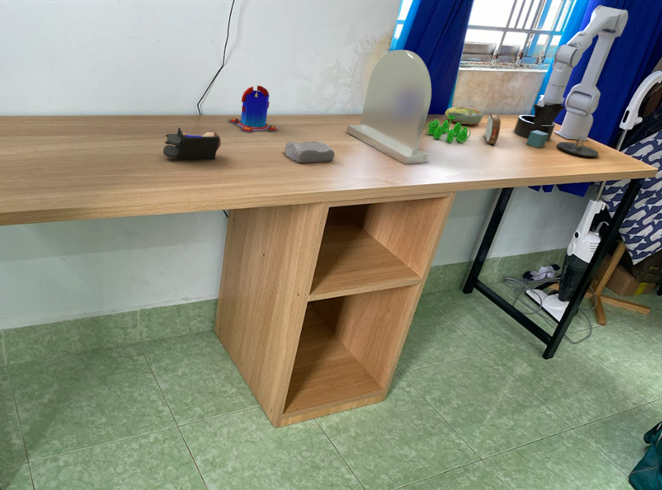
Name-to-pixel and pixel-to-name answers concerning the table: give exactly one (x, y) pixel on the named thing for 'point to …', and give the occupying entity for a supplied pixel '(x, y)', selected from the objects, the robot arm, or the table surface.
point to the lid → (578, 148)
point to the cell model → (464, 115)
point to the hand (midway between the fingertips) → (542, 126)
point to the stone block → (309, 152)
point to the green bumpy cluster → (447, 130)
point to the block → (537, 139)
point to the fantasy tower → (254, 110)
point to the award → (396, 107)
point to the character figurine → (192, 146)
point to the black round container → (531, 126)
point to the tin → (492, 128)
